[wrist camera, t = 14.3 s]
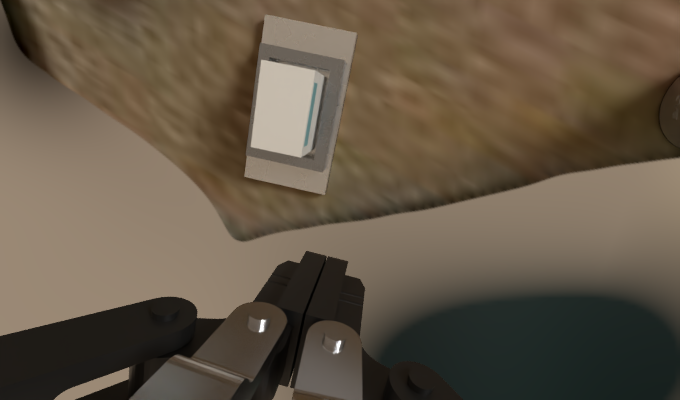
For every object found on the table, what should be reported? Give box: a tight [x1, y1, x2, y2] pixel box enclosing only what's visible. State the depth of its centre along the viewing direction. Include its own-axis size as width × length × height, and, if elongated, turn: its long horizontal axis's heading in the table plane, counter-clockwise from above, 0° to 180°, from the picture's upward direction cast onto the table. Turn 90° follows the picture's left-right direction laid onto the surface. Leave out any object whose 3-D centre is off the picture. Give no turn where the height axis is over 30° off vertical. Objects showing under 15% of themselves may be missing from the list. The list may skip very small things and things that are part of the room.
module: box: [251, 60, 326, 158], centre depth 35 cm, size 5×8×7 cm, turn 169°
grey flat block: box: [244, 14, 358, 195], centre depth 38 cm, size 10×18×3 cm, turn 168°
